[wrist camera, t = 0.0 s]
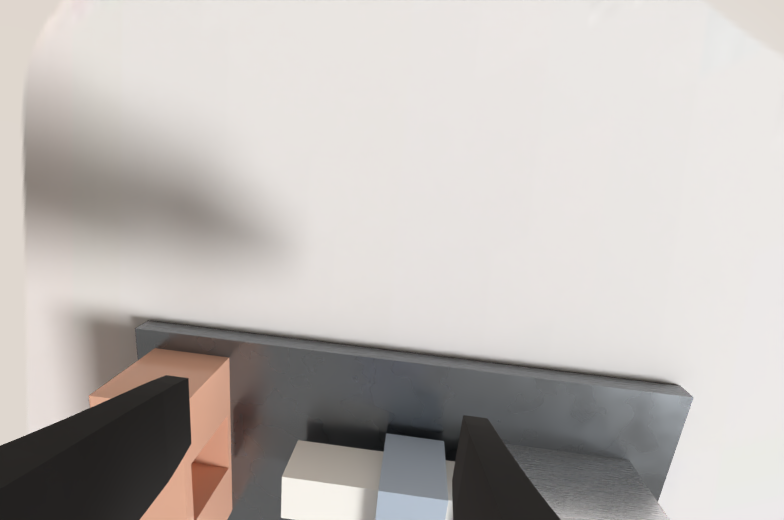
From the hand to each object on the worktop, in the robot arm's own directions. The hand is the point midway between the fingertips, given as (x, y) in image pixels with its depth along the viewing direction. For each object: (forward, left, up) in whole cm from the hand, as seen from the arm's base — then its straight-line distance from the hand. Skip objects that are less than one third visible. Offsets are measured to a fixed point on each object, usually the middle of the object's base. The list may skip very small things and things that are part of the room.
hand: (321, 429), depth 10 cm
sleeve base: (-9, -2, -10) cm, 14 cm away
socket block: (-9, +9, -9) cm, 16 cm away
